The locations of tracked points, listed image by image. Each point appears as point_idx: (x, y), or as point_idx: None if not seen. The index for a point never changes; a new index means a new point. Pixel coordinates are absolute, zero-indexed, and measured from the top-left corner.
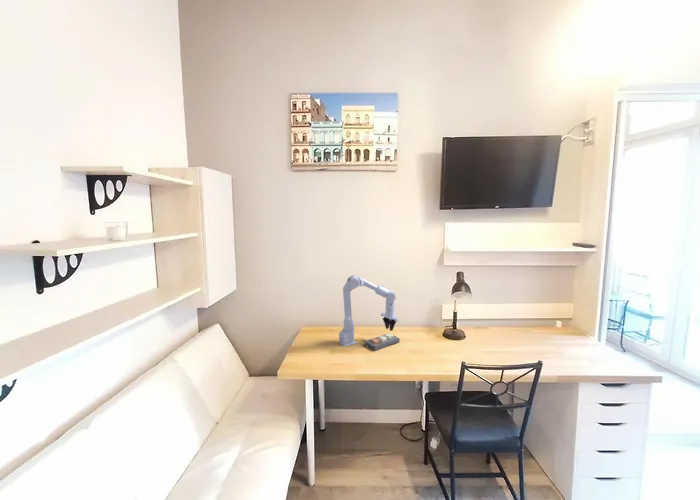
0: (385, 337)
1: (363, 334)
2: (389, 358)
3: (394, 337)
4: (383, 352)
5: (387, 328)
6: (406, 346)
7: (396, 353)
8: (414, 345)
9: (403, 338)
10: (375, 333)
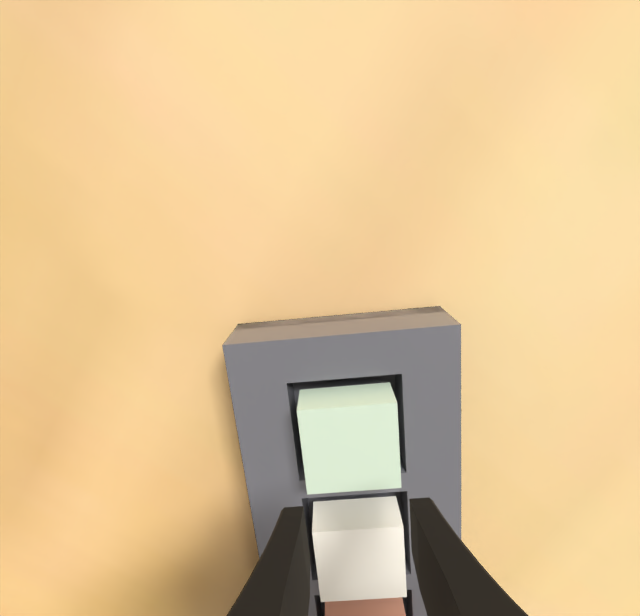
0: (389, 539)
1: (22, 505)
2: (636, 605)
3: (396, 371)
4: (509, 581)
5: (306, 539)
6: (571, 298)
7: (613, 501)
8: (624, 182)
9: (359, 152)
10: (42, 378)
